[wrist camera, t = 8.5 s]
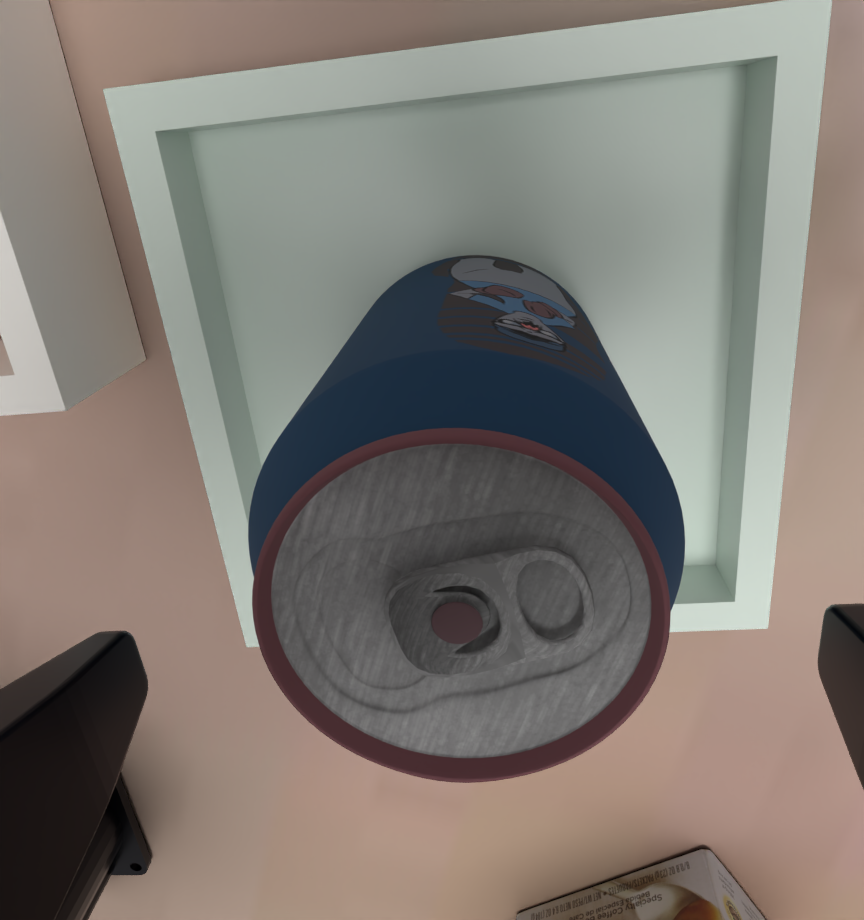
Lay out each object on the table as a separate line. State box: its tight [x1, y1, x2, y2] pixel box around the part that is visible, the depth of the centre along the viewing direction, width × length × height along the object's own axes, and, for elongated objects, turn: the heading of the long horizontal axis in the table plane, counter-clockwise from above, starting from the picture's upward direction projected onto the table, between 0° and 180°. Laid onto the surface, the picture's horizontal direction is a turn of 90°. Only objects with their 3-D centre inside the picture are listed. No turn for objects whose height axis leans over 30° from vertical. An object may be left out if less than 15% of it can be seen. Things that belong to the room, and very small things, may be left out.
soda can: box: [248, 255, 685, 783], centre depth 15 cm, size 7×7×12 cm
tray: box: [103, 0, 832, 647], centre depth 20 cm, size 16×16×2 cm
